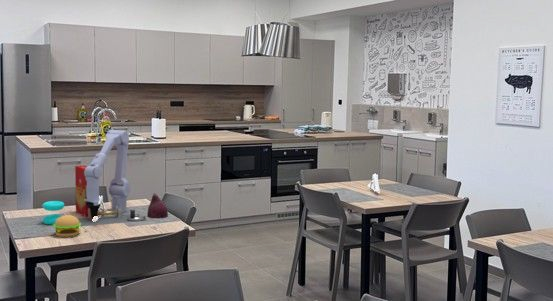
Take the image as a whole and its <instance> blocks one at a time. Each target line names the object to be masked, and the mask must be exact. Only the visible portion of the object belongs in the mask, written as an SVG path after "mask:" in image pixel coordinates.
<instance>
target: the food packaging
mask: <svg viewBox="0 0 553 301" xmlns="http://www.w3.org/2000/svg"><path fill="white" fill-rule="evenodd" d="M87 166H88V165H75V166H74V167H75V168H74V169H75V173H74V174H75V184H74V185H75V212H76V213H77V214H79V215H80V216H83V218H88V207H87V205H86V202H89V201H84V199H87V181H86V177H85V175H84V171H85V168H86V167H87Z"/></svg>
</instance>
